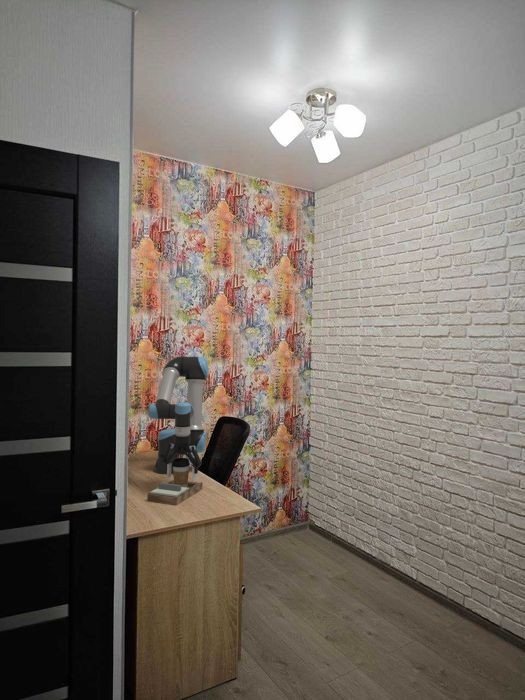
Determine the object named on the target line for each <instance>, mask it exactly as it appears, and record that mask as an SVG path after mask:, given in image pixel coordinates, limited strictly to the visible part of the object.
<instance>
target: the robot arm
mask: <svg viewBox="0 0 525 700" xmlns="http://www.w3.org/2000/svg"><path fill="white" fill-rule="evenodd" d="M161 376H162V379H161V381H160V384H159V385H160V386H159V389H158V393H157V395H156V399H155V403H150V404H149V405H148V411H147V412H148V417H149V418H150V419H154V420H174V428H168V429H167V428H166V429H162V430H161V431H159V432H158V437H157V441H158V443H157V446H158V447H157V459H156V462H155V465H154V472H155V473H157V474H162V475H163V474H165V475H166V478H170V477H172V475H173V466H172V464H173V461H174V460H175V459H177V458H180V455H183V456H186V458H188V459H189V462H190V463H191V465H192V466H191V467H192V469H191V471H192V472H191V473H192V475H191V478H192V479H191V480H192V481H191V482H195V481H196V480H197V474H198V472H199V467H201V466H202V465H203V463H202V461H201V459H200V456H199V453H203V452H204V450H205V447H206V442H207V432H206V431H205V428H204V427H203V425H202V422H203V418H202V417H203V388H204V387H203V385H204V383H205V382H206V380H207V378H209V365H208V359H207V358H206V357H204V356H183V355H181V356H176V357H174V358H171V360H169V361H168V362H166V364H165V365H164V367H163V368H162V371H161ZM180 377H181V378H182V377H183V378H184V379H185V382H186V383H187V390H186V392H187V393H186V395H187V396H186V402H176V403H171V402H172V398H173V394H174V390H175V387H176V384H177V383H176V382H177V381H178V379H179V378H180Z"/></svg>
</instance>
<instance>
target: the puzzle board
mask: <svg viewBox="0 0 525 700" xmlns="http://www.w3.org/2000/svg"><path fill="white" fill-rule="evenodd" d="M167 483H168V484H174V479H173V480H171V481H169V482H167ZM203 486H204V484H203V481H201V482H199V481H198V482H196V481H189V480H188V484H187V488H189V490H187V491H185V492H183V493H182V494H180V495H178V496H177V497H173V496H166V495H159V494H152V493H151V491H150V492H147V497H146V498H147V499H146V500H147V502H151V503H152V502H153V503H160V504H167V505H171V506H172V505H173V506H178V505H180V504H181V503H183V502H185V501H187V500H188V499H189V498H190V497H192V496H194V495H195V494H197V493H199V492H200V491H202V490H203Z"/></svg>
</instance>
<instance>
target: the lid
mask: <svg viewBox="0 0 525 700" xmlns="http://www.w3.org/2000/svg"><path fill="white" fill-rule="evenodd" d="M168 483H169V482H167V483H166V482H158V487H157V488H155V489H153V490H151V491H150V492H151V493H152V494H159V495H166V496H173V497H177V496H178V495H180V494H182V493H183V492H185V491H187V490H189V488H186V487H181V485H176V484H168Z"/></svg>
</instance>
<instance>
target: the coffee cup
mask: <svg viewBox="0 0 525 700" xmlns="http://www.w3.org/2000/svg"><path fill="white" fill-rule="evenodd" d="M190 463H191V462H190V460H189V458H188V457H179V458H177V459H175V460H174V461H173V464H172V466H173V474H172V475H173V480H174V484H176V485H181V487H186V488H187V484H188V481H189V473H190V466H191V464H190Z"/></svg>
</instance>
